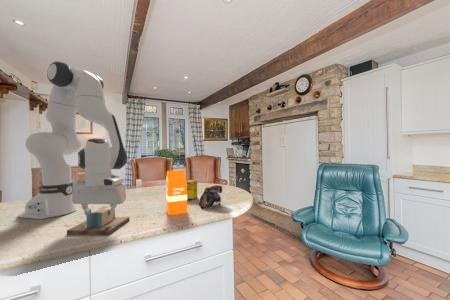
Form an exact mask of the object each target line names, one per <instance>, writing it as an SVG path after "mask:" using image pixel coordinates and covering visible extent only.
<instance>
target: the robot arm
mask: <svg viewBox="0 0 450 300" xmlns="http://www.w3.org/2000/svg"><path fill="white" fill-rule="evenodd" d="M46 76H47V80H48V81H49V82H50V83H51V84H53V86H52V88H51V90H50V94H49V96H48V102H47V108H46V115H45V119H46V121H48V122H49V123H50V127H51V129H52V132H50V131H41V132H39V131H38V132H36V133H31V134H29V136H28V137H27V138H26V140H25V148H26V150H27V151H28V152H29V153H30V154H32V155H33V156H34V157H35V159H36V160H37V161H38V163H39V166H40V169H41V177H42V178H41V179H42V180H41V181H42V185H41V186H40V185H39V186H37V187H36V190H37V191H38V190H39V191H38V193H37V194H36V195H35V196H34V197H32V198H31V199H30V200H28V201H27V202H26V203H25V206H24V211H23V212H20V213H18V214H17V218H22V219H24V218H25V219H34V220H35V219H36V220H44V219H48V218H52V217H53V218H54V217H59V216H63V215H67V214H68V215H69V214H71V213H74V212H76V211H77V206H76V205H81V208H82V210H83V211H84V215H85V216H86V214H88V213H90V212H92V209H91V208H89V205H109V207H111V209H110V210H109V211H108V215H113V214H114V209H115V210H116V208H117V206H118V205H122V204H124V203H125V201H126V200H127V193H126V192H127V191H126V187H125V185H124V184H123V183H124V182H125V179H124V177H121V176H118V175H115V174H113V173H112V170H121V169H122V168H123V167H125V166H126V165H127V164H128V155H127V151H126V149H125V147H124V143H123V139H122V136H121V133H120V130H119V129H120V128H119V126H118V122H117V119H116V117H115V114H114V113H112V112H110V110H109V109H108V108H107V106H106V99H105V93H104V87H105V86H104V81H103V79H102V78H101V77H100V76H99V75H96V74H93V73H91V72H90V71H88V70H85V69H83V68H81V67H80V68H79V67H77V66H73V65H71V64H67V63H66V62H61V61H53V62H51V63H50V64H49V66H48V68H47V72H46ZM77 113H78V115H79V116H80V117H81V118H83V119H85V120H87V121H88V122H91V123H94V124H97V125H99V126H101V127H102V128H104V129H105V130H106V131H107V133H108V136H109V140H107V139H105V138H89V139H87V140H86V142H85V147H83V148H82V141H81V138H79V136H78V134H77V130H76V119H77V118H76V116H77ZM110 145H111V146H110ZM81 148H82V149H81ZM74 153H77V156H78V157H77V158H78V159H77V160H78V161H77V162H78V163H77V166H78V167H80V168H81V169H82V170H85V171H84V179H77V180H75V181H74V182H73V181H72V178H73V177H72V176H73V175H72V167H71V165H70V164H68V163H67V162H66V160H65V158H64V156H68V155H72V154H74Z"/></svg>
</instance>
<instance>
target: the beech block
mask: <svg viewBox="0 0 450 300" xmlns="http://www.w3.org/2000/svg"><path fill="white" fill-rule="evenodd" d="M110 209H111V207H110V206H101V207H99V208H98V209H95V210H93V211H91V212H90V213H88V214H86V215H85V217H86V221H87V228H100V227H102V226H103V225H105V224H106V223H108V222H110V221H111V220H113V219H115V217H116V208H115V209H114V214H113V215H108V211H109V210H110Z"/></svg>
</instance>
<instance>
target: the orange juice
mask: <svg viewBox="0 0 450 300" xmlns="http://www.w3.org/2000/svg"><path fill="white" fill-rule="evenodd" d="M187 181H188V180H187V176H186V170H185V169H178V170H176V169H175V170H167V171H166V178H165V196H166V197H165V198H166V199H165V201H166V207H165V208H166V213H167V214H168V216H172V215H173V216H174V215H178V214H186V213H188V200H187Z"/></svg>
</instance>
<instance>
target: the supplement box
mask: <svg viewBox="0 0 450 300" xmlns="http://www.w3.org/2000/svg"><path fill="white" fill-rule="evenodd" d="M186 181H187V201H196V199H197V198H198V180H197V179H188V180H186Z"/></svg>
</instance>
